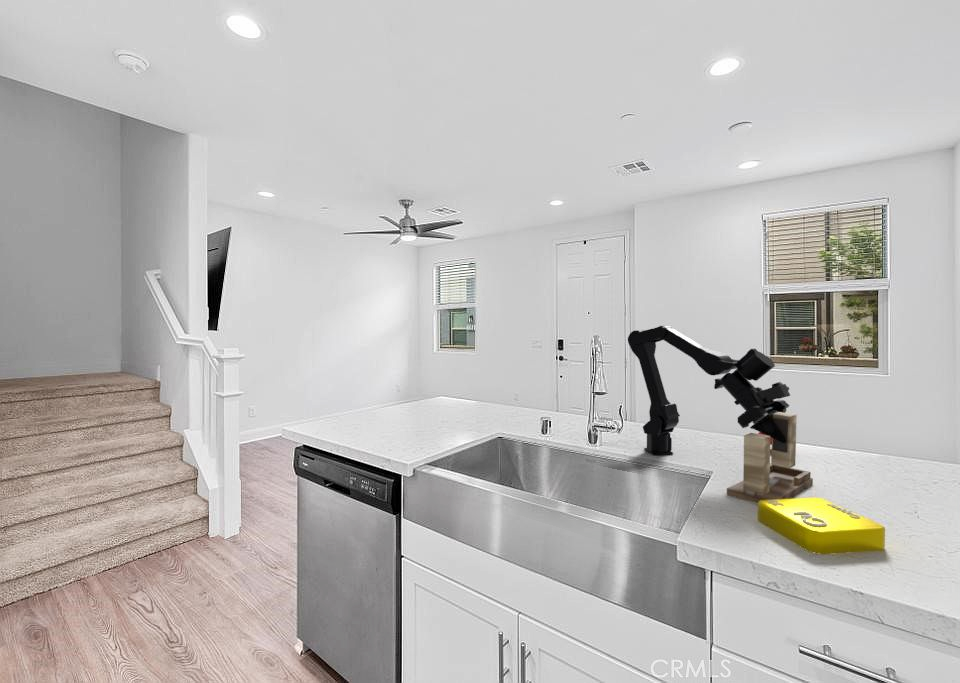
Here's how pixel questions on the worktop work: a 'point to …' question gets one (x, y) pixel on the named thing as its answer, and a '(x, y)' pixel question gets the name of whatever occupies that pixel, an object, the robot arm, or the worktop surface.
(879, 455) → the worktop surface
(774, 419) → the tan wooden upright block
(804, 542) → the element tile
